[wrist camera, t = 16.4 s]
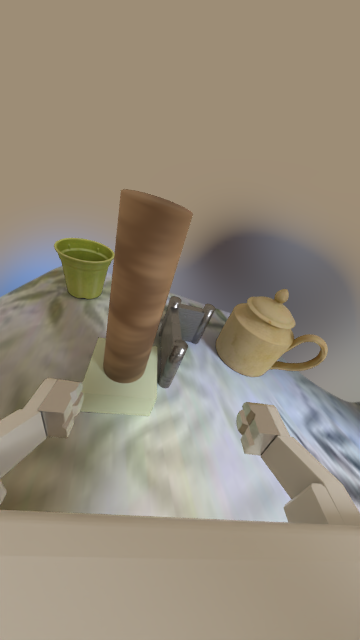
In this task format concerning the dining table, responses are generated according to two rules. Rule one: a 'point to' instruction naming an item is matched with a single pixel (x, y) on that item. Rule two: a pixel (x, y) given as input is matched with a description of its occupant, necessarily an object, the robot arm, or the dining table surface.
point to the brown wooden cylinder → (141, 279)
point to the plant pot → (84, 265)
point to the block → (118, 388)
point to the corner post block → (180, 335)
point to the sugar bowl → (263, 337)
